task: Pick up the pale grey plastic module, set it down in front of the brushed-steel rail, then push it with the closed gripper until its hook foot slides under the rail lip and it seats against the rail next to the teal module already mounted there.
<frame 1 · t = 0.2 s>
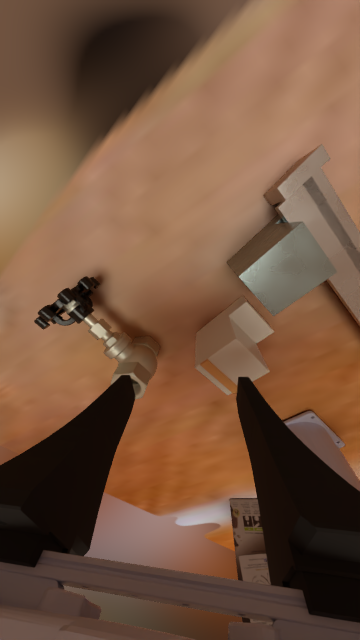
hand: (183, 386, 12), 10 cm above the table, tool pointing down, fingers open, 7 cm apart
module: (223, 333, 21), on the table
coffee box: (246, 506, 40), on the table
valve: (124, 324, 22), on the table
rail: (349, 287, 17), on the table
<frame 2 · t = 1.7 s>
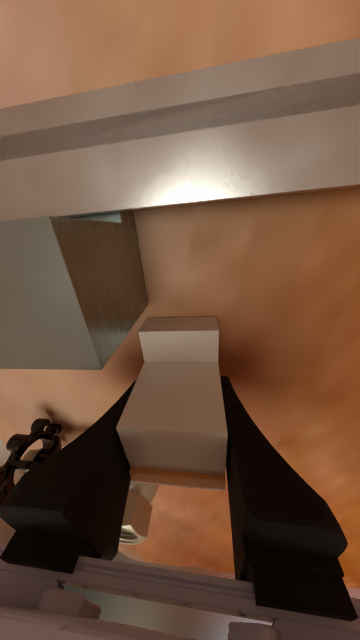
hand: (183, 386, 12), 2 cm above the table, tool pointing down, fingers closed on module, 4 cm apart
module: (185, 370, 13), on the table, touching gripper
valve: (108, 428, 18), on the table
rail: (259, 155, 8), on the table
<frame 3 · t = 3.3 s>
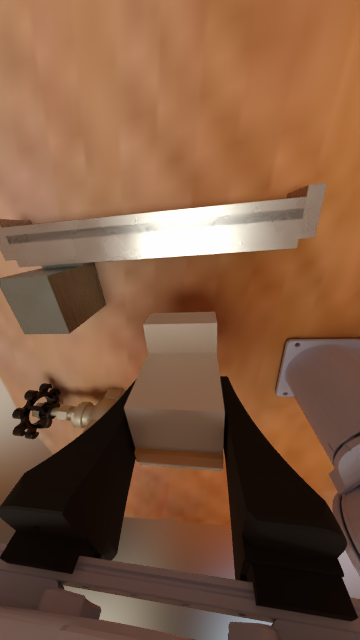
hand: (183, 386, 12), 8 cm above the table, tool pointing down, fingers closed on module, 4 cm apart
module: (185, 363, 14), point 6 cm above the table, touching gripper
valve: (92, 392, 26), on the table
rail: (150, 232, 16), on the table
when the fingers open (3 cm above the table, at t = 4.7 s): module stays where it is, on the table.
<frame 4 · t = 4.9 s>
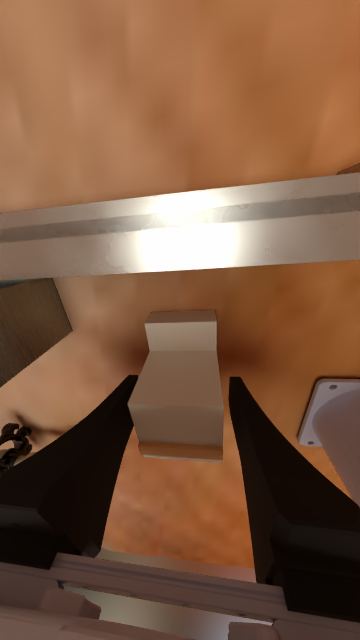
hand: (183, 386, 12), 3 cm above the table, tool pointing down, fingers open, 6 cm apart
module: (186, 360, 15), on the table
valve: (71, 431, 21), on the table
rail: (126, 233, 11), on the table
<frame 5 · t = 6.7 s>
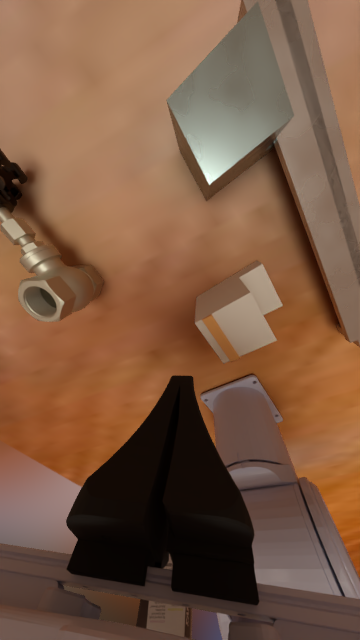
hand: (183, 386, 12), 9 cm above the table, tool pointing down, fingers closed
module: (225, 303, 19), on the table
coffee box: (178, 484, 38), on the table
valve: (63, 247, 18), on the table
rail: (313, 216, 15), on the table
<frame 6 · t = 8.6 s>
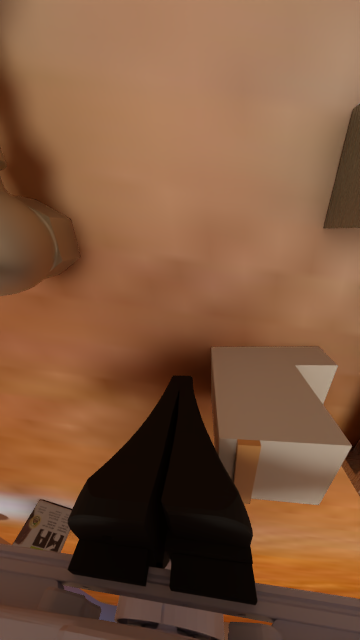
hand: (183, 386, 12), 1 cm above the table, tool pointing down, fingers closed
module: (243, 373, 13), on the table, touching gripper
coffee box: (57, 512, 30), on the table
valve: (24, 151, 9), on the table
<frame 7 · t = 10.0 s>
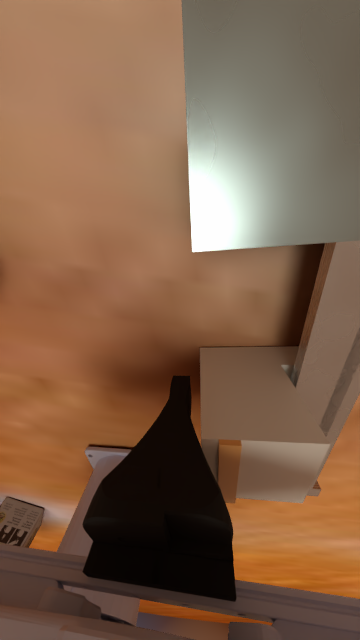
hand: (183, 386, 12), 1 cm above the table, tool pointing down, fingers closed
module: (232, 373, 13), on the table, touching gripper, rail
coffee box: (26, 509, 31), on the table
rail: (307, 337, 11), on the table
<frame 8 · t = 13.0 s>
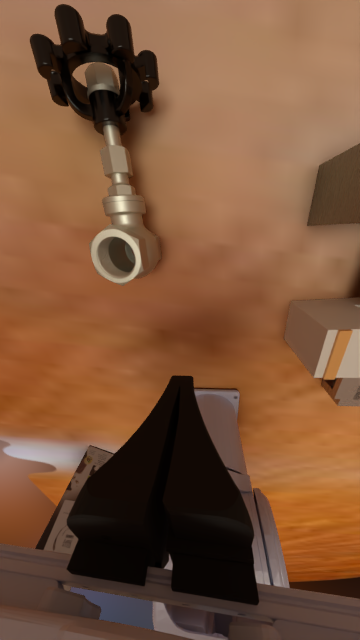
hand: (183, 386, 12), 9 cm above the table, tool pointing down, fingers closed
module: (309, 319, 19), on the table
coffee box: (100, 459, 37), on the table
valve: (137, 201, 16), on the table
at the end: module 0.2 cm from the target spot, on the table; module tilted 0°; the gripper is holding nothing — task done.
